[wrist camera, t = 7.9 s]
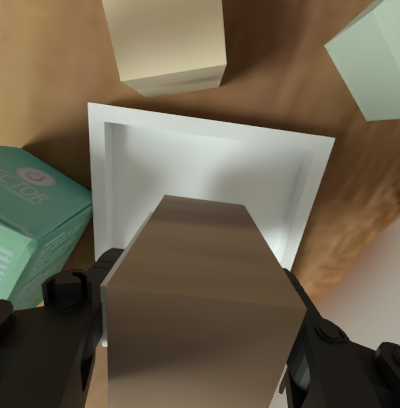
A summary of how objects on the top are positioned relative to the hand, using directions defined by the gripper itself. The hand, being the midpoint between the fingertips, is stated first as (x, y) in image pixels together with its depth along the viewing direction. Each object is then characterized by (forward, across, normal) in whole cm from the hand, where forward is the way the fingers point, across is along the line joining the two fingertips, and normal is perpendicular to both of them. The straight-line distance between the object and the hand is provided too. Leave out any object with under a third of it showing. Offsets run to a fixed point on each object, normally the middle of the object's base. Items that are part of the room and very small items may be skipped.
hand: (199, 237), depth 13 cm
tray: (+4, 0, 0) cm, 4 cm away
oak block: (+4, -3, +11) cm, 12 cm away
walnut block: (0, 0, 0) cm, 0 cm away
